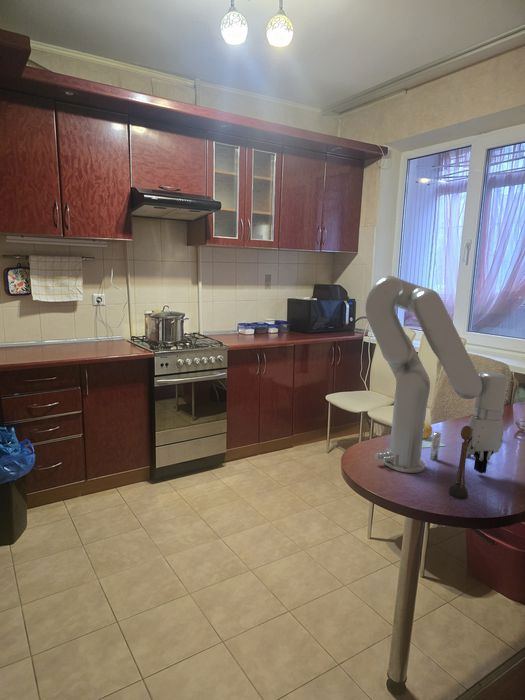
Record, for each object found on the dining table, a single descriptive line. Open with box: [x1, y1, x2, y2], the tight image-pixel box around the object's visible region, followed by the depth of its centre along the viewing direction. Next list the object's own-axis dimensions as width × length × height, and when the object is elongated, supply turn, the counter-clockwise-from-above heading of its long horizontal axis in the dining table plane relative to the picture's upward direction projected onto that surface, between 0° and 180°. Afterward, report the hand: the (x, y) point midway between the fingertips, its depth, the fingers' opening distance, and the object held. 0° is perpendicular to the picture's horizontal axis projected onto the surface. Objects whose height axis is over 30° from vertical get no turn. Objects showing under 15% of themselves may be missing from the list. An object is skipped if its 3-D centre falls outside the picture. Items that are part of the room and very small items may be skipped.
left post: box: [429, 431, 442, 462], centre depth 144 cm, size 2×2×9 cm
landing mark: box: [422, 436, 446, 449], centre depth 160 cm, size 10×10×1 cm
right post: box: [466, 447, 472, 459], centre depth 148 cm, size 2×2×9 cm
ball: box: [423, 421, 433, 438], centre depth 163 cm, size 6×6×6 cm
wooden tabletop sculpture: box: [448, 425, 473, 500], centre depth 120 cm, size 6×5×20 cm
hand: (479, 471), depth 134 cm, fingers closed
